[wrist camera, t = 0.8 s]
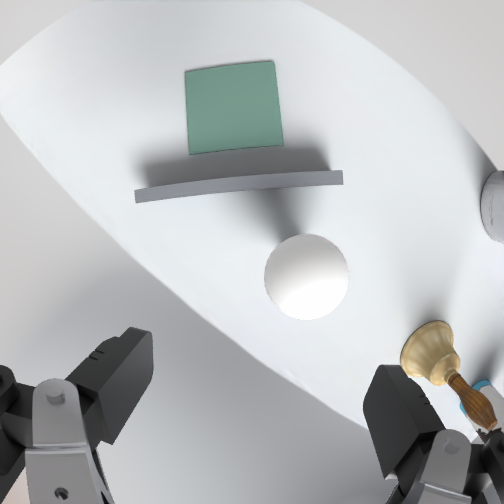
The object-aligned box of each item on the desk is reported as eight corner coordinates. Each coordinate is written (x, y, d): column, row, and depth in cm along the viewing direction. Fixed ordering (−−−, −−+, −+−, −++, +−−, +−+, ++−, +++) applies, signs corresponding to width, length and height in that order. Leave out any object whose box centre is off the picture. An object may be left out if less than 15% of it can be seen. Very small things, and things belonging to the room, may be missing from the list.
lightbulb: (264, 221, 28) (262, 243, 17) (327, 221, 27) (362, 242, 17) (265, 282, 29) (263, 335, 18) (325, 281, 29) (354, 332, 18)
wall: (331, 172, 26) (342, 170, 22) (332, 184, 26) (343, 184, 23) (151, 189, 28) (134, 190, 24) (152, 200, 28) (135, 203, 24)
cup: (455, 415, 33) (491, 472, 18) (466, 387, 31) (511, 445, 17) (482, 403, 32) (520, 453, 18) (493, 374, 31) (539, 424, 16)
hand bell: (420, 314, 29) (497, 391, 13) (461, 327, 29) (532, 392, 14) (388, 370, 31) (438, 462, 15) (431, 378, 31) (484, 454, 15)
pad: (274, 63, 24) (274, 61, 24) (283, 145, 26) (283, 144, 26) (186, 73, 25) (185, 72, 24) (190, 154, 27) (189, 154, 26)
